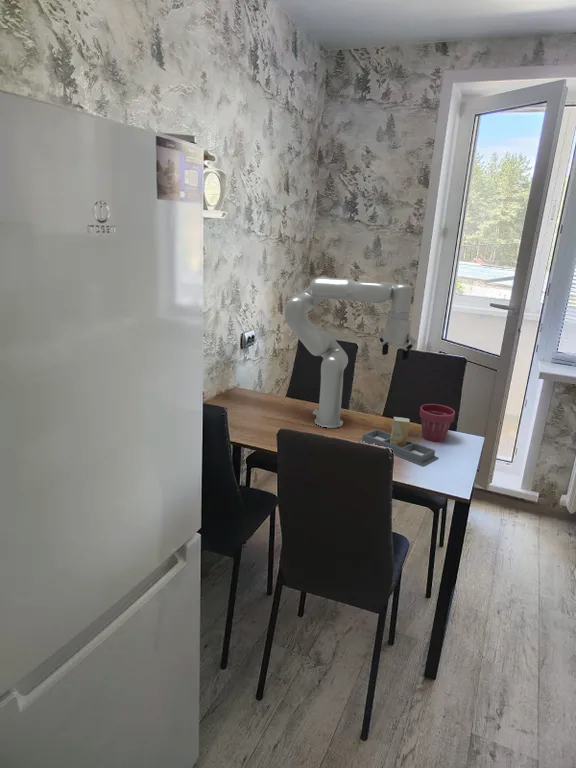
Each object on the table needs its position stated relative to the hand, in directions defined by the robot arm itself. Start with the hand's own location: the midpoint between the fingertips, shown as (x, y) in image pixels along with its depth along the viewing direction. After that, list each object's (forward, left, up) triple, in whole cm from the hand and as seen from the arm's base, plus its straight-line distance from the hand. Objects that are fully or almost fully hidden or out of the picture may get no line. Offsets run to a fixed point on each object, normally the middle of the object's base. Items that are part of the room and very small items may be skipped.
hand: (394, 357), depth 212 cm
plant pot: (+16, +12, -34) cm, 39 cm away
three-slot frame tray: (+13, -12, -33) cm, 38 cm away
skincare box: (+14, -12, -33) cm, 37 cm away
